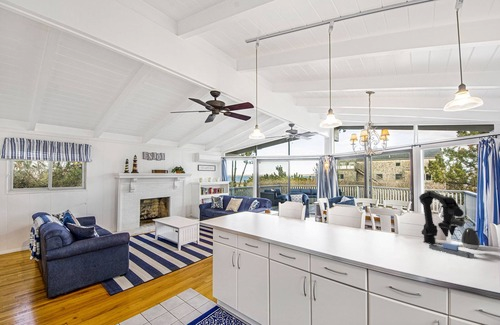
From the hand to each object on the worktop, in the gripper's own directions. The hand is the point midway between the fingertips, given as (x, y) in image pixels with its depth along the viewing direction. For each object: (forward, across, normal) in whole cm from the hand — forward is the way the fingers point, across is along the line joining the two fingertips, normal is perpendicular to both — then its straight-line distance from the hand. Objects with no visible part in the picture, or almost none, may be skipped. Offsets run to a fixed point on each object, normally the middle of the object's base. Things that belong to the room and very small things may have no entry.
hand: (449, 235), depth 158 cm
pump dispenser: (+12, +27, -4) cm, 30 cm away
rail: (+12, 0, 0) cm, 12 cm away
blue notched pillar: (+12, 0, 0) cm, 12 cm away
